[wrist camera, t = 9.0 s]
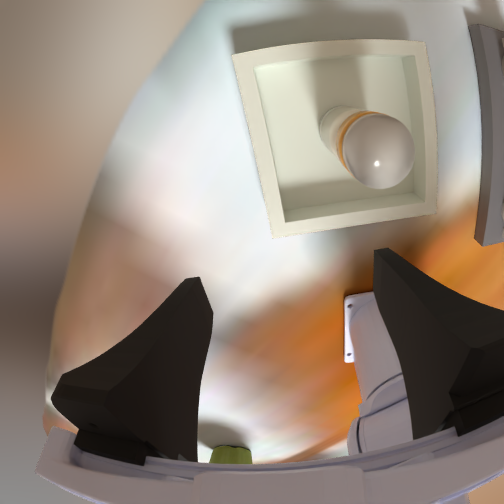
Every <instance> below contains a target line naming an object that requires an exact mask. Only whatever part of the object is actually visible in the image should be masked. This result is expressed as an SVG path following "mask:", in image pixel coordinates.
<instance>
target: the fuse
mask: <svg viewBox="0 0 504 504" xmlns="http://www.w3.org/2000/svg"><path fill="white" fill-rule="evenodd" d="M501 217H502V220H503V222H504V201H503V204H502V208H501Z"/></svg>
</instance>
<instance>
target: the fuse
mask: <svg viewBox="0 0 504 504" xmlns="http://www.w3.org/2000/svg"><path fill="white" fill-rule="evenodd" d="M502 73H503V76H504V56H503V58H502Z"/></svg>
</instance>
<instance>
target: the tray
mask: <svg viewBox="0 0 504 504" xmlns="http://www.w3.org/2000/svg"><path fill="white" fill-rule="evenodd" d="M231 56H232V60H233V64H234V68H235V72H236V76H237V80H238V84H239V89H240V93H241V97H242V101H243V106H244V110H245V114H246V118H247V123H248V127H249V132H250V136H251V140H252V145H253V149H254V154H255V158H256V163H257V167H258V172H259V177H260V181H261V186H262V190H263V195H264V200H265V205H266V209H267V214H268V219H269V224H270V229H271V233H272V238H273V239H274V238H280V237H287V236H293V235H299V234H306V233H312V232H318V231H325V230H331V229H338V228H344V227H351V226H357V225H364V224H370V223H377V222H384V221H391V220H397V219H404V218H411V217H418V216H424V215H431V214H436V207H437V183H438V152H437V129H436V115H435V104H434V95H433V87H432V79H431V73H430V66H429V61H428V55H427V50H426V45H425V42H420V41H407V40H388V39H349V40H329V41H317V42H306V43H297V44H290V45H282V46H276V47H269V48H264V49H258V50H253V51H248V52H243V53H238V54H234V55H231ZM340 105H346V106H351V107H355V108H358V109H363V110H367V111H375V112H379V113H383V114H386V115H389V116H391V117H394V118H396V119H397V120H399V121H400V122H402V123H403V124H404V125H405V126H406V127H407V129H408V130H409V132H410V134H411V135H412V138H413V141H414V146H415V158H414V163H413V165H412V168H411V170H410V172H409V173H408V175H407V176H406V177H405V178H404V179H403V180H402V181H401V182H400V183H398V184H396V185H395V186H392V187H390V188H385V189H375V188H370V187H367V186H365V185H363V184H362V183H360V182H359V181H358V180H357V179H355V178H354V177H353V176H352V175H351V174H350V173H349V172H348V171H347V169H346V168H345V167H344V166H343V165H342V163H341V162H340V161H339V160H338V159H337V157H336V156H335V155H334V154H333V153H332V152H331V151H329V150H328V149H327V148H326V147H325V145H324V144H323V142H322V141H321V138H320V135H319V124H320V121H321V118H322V117H323V115H324V114H325V113H326V112H327V111H328V110H329V109H331V108H333V107H335V106H340Z"/></svg>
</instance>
